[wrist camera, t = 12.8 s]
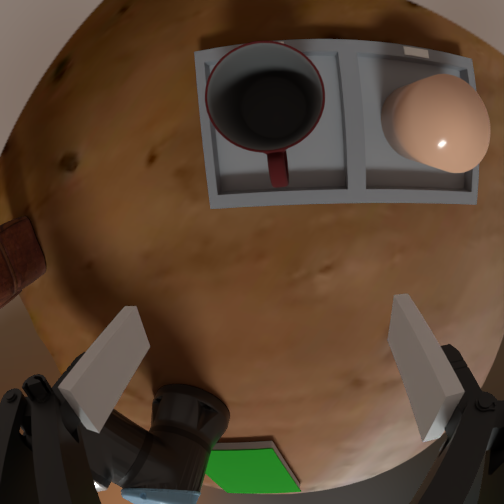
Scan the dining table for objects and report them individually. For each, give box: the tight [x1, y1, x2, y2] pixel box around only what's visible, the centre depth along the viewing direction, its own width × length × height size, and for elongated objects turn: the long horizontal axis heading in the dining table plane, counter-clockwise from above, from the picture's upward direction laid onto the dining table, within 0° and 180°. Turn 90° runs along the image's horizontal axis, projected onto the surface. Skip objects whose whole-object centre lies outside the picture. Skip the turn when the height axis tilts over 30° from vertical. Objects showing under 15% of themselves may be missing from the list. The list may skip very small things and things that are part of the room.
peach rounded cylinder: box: [381, 74, 490, 173], centre depth 23 cm, size 9×9×9 cm
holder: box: [194, 39, 479, 209], centre depth 28 cm, size 32×18×3 cm, turn 95°
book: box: [205, 441, 301, 493], centre depth 59 cm, size 22×28×3 cm
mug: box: [205, 41, 325, 188], centre depth 25 cm, size 12×9×11 cm
